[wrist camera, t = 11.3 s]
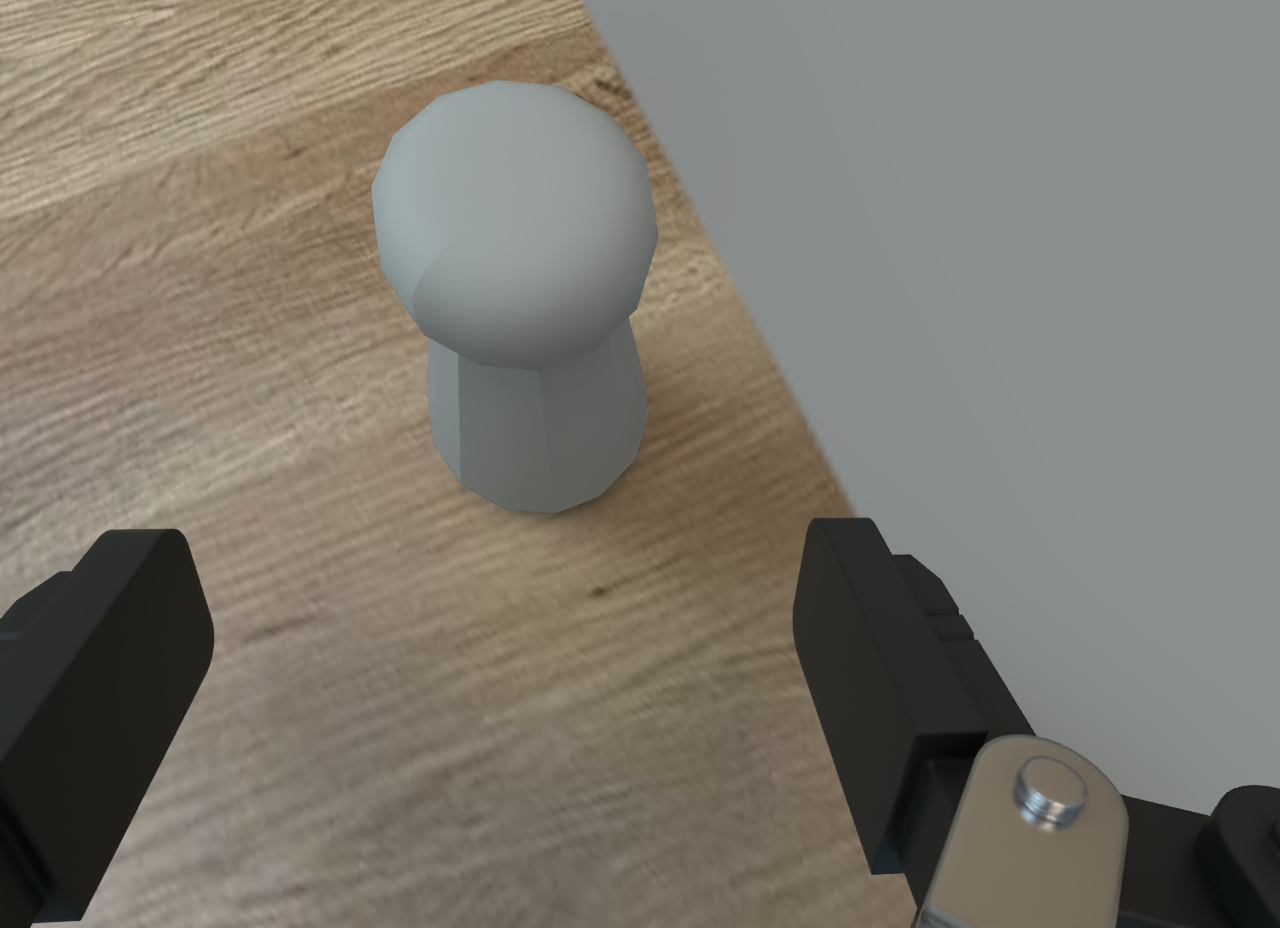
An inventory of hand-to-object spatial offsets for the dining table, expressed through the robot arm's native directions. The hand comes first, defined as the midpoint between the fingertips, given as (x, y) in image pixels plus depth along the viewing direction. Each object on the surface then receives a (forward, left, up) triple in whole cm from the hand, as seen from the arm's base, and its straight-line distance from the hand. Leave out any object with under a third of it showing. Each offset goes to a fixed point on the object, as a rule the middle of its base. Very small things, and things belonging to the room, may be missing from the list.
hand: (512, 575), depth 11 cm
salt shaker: (0, -5, -12) cm, 14 cm away
